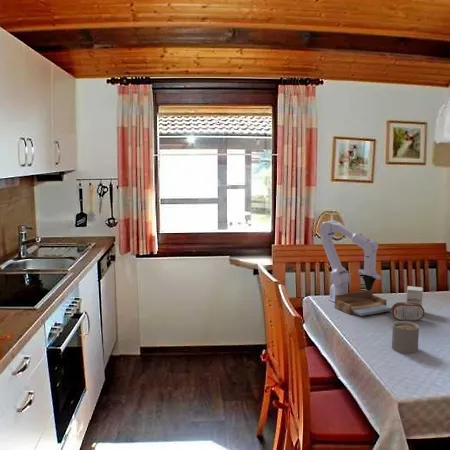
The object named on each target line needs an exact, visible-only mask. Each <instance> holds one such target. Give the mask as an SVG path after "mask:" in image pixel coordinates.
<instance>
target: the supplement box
mask: <svg viewBox="0 0 450 450" xmlns="http://www.w3.org/2000/svg"><path fill="white" fill-rule="evenodd" d="M423 293H424V288H423V287H420V286H411V285H407V288H406V302H405V303H418V304H420V305H421V306H422V307H423V295H424V294H423Z"/></svg>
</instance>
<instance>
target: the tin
mask: <svg viewBox="0 0 450 450" xmlns="http://www.w3.org/2000/svg"><path fill="white" fill-rule="evenodd" d="M391 308H392V309H391V311H390V312H391V315H392V316H393V318H394V319H396V320H398V321H407V322H411V321H413V322H414V321H415V322H418V321H420V320H422V319H423V318H424V316H425V309H424V307H423V305H422V306H421V305H420V304H418V303H406V302H404V301H402V302H396V303H394V304H393V305H392V306H391Z"/></svg>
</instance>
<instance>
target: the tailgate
mask: <svg viewBox="0 0 450 450" xmlns="http://www.w3.org/2000/svg"><path fill="white" fill-rule="evenodd" d="M391 309H392V306H388V305H386V306H385V305H382V306H376V307H370V308H364V309H358V310H353V313H355V315H358V316H360V317H361V316H368V315H376V314H381V313H385V312H391Z"/></svg>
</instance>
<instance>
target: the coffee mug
mask: <svg viewBox="0 0 450 450" xmlns="http://www.w3.org/2000/svg"><path fill="white" fill-rule="evenodd" d="M419 333H420V326H419V324H417V323H414V322H411V321H406V320H398V321H395V322H393V323H392V335H391V336H392V337H391V340H392V341H391V349H392V350H393V351H395V352H397V353H400V354H405V353H406V354H409V355H410V354H411V355H413V354H416V353H417V352H418V351H419V335H420V334H419ZM406 354H405V355H406Z"/></svg>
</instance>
